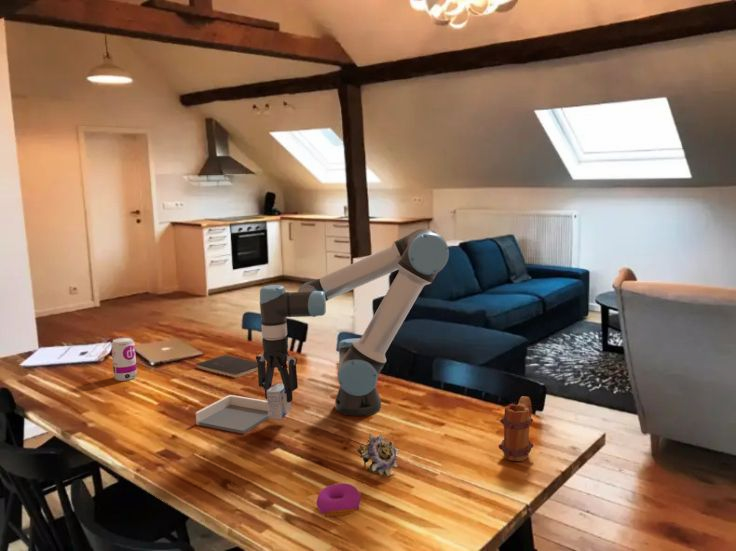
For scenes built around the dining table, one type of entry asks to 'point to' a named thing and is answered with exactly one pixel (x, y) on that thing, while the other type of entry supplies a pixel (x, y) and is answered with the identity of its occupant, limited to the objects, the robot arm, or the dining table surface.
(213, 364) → the hardcover book
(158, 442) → the dining table surface
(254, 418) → the tray
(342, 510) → the donut
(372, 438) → the passion flower
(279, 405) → the medicine box
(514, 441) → the mug
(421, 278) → the robot arm
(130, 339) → the supplement can
